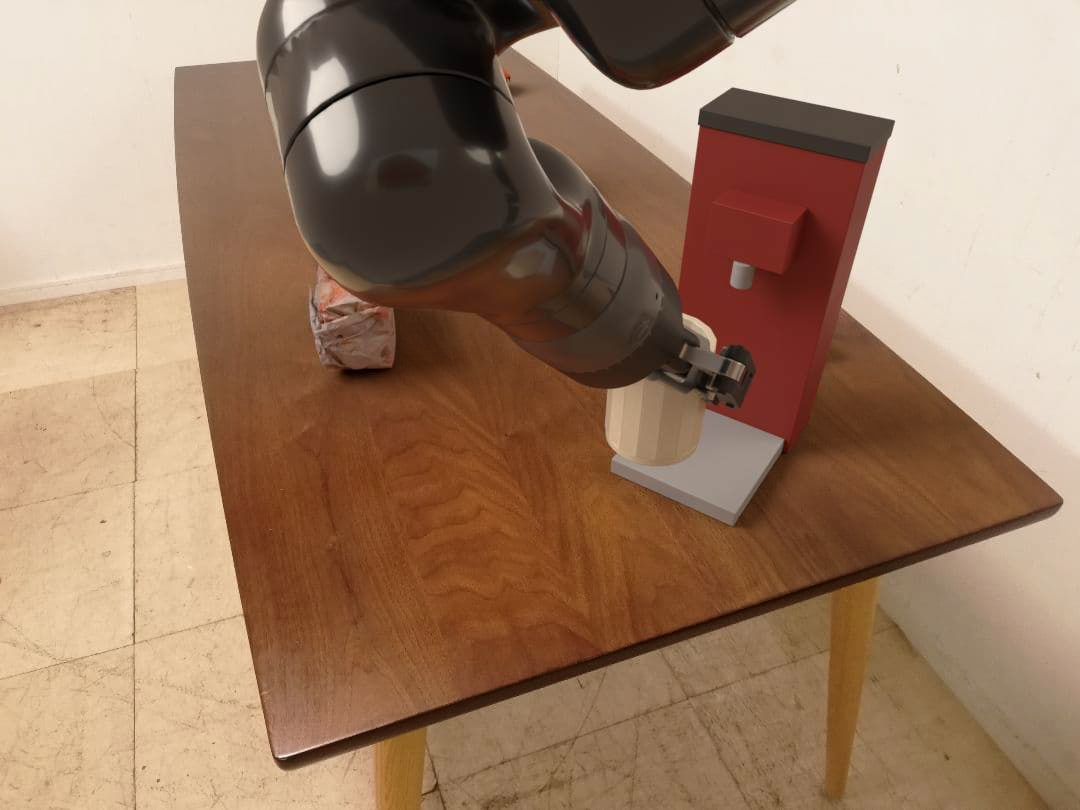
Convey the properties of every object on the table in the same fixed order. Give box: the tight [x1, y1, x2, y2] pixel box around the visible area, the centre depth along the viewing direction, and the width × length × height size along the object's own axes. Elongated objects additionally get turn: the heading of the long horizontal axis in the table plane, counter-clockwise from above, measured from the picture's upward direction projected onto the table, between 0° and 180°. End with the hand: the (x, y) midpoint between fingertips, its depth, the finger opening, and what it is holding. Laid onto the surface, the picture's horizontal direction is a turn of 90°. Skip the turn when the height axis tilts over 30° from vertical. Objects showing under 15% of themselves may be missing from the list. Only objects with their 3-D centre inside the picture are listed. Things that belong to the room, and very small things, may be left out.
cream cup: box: [604, 313, 717, 466], centre depth 53 cm, size 6×6×8 cm
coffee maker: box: [610, 86, 896, 527], centre depth 63 cm, size 16×12×27 cm
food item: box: [308, 265, 397, 371], centre depth 80 cm, size 14×8×10 cm, turn 13°
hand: (669, 371), depth 54 cm, fingers closed on cream cup, 6 cm apart
